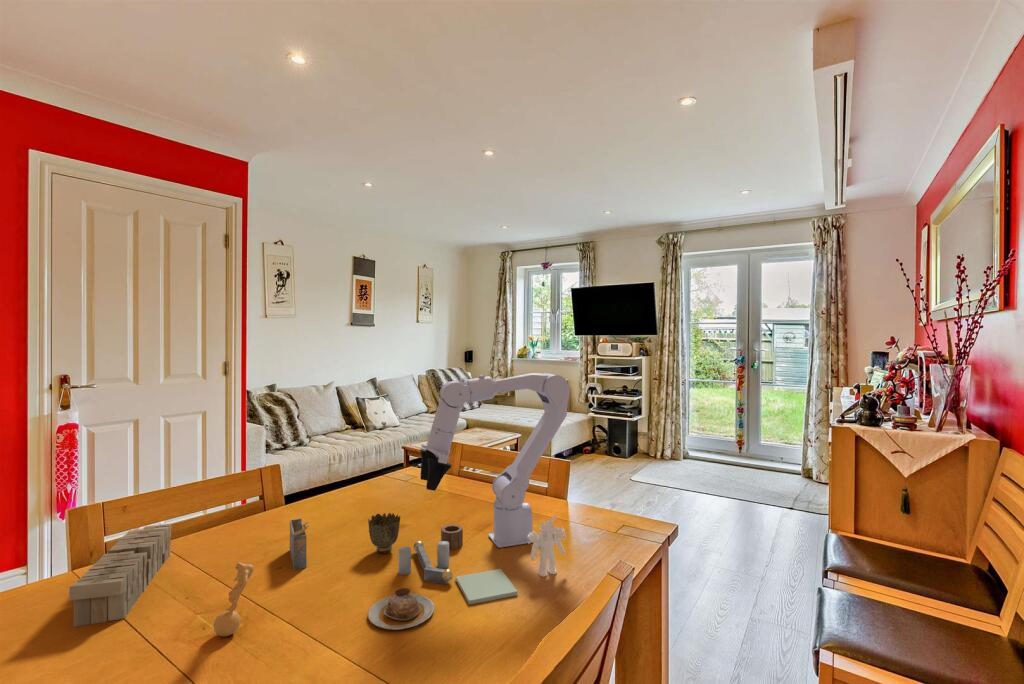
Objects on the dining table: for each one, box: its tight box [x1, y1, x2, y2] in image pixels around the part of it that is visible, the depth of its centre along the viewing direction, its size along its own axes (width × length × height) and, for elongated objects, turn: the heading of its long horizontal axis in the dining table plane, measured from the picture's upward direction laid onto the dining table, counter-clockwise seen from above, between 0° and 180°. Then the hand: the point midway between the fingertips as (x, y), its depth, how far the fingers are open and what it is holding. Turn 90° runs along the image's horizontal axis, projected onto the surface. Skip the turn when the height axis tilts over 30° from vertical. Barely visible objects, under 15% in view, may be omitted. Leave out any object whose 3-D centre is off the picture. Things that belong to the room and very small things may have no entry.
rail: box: [413, 540, 454, 586], centre depth 110 cm, size 6×19×3 cm, turn 21°
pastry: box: [367, 587, 435, 631], centre depth 92 cm, size 12×12×5 cm
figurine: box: [213, 562, 255, 637], centre depth 85 cm, size 8×6×12 cm
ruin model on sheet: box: [289, 518, 309, 571], centre depth 114 cm, size 11×3×10 cm, turn 28°
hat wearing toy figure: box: [527, 514, 567, 578], centre depth 108 cm, size 9×4×12 cm, turn 112°
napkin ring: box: [440, 524, 464, 551], centre depth 122 cm, size 5×5×4 cm
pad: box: [455, 568, 518, 605], centre depth 101 cm, size 10×10×1 cm
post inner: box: [436, 540, 450, 569], centre depth 111 cm, size 3×3×5 cm
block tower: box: [68, 523, 172, 628], centre depth 100 cm, size 8×8×29 cm
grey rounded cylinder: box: [398, 546, 412, 576], centre depth 108 cm, size 3×3×5 cm
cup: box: [367, 512, 401, 555], centre depth 118 cm, size 8×7×8 cm
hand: (427, 484), depth 119 cm, fingers open, 7 cm apart
